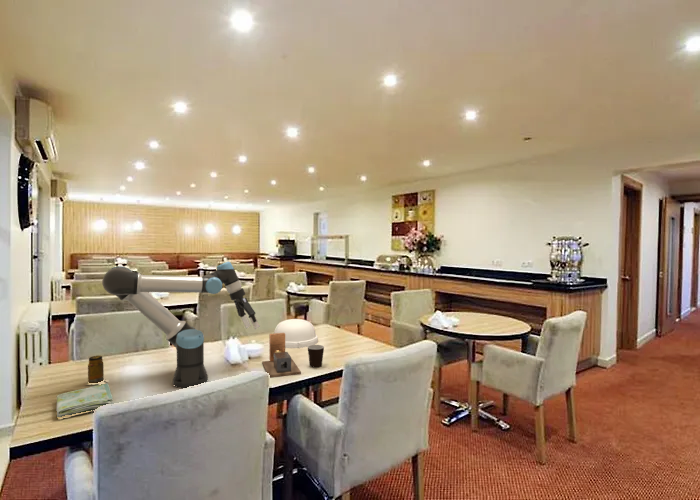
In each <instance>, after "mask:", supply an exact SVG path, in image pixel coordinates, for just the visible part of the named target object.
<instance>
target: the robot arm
mask: <svg viewBox="0 0 700 500" xmlns="http://www.w3.org/2000/svg"><path fill="white" fill-rule="evenodd" d="M232 264H233V263H232V262H230V261H225V262H224V263H221V264H219V265H217V266H216V270H214V271H212V272H209V273H208V274H206V275H203V276H196V275H195V276H192V275H191V276H190V275H189V276H188V275H187V276H185V275H155V274H141V273H140V272H138V271H137V272H136V271H132V270H131V269H130V268H128V267H125V266H121V265H120V266H114V267H112V268H110V269H109V270H107V271H106V273H105V274H104V276H103V277H102V287H103V289H104V290H105V292H106V293H108V294H110V295H113V296H116V297H117V298H118V299H119V300H120V301H122V302H123V301H124V302H125V301H127V302H128V303H129V304H130V305H132V306H133V307H134V308H135V309H136V310H138V311H139V312H140V313H141V314H142V315H143V316H144V317H146V318H147V319H148V320H149V321H150V322H151V323H152V324H153V325H154V326H156V327H157V328H158V329H159V330H160V331H162V332H163V333H164V334H165V336H166V337H165V338H166V340H167V341H168V342H169V343H170V344H171V345H172V346H174V347H175V349H176V368H175V371H174V374H173V379H172V386H173V385H175V386H177V387H176V388H178V387H181V388H180V389H186V388H185V387H189V386H194V385H198V384H201V383H204V382H206V383H207V382H208V381H207V380H209V377H208V376H209V375H208V372H207V369H206V367H205V364H204V363H205V361H204V355H205V354H204V348H205V347H204V342H205V336H204V333H203V332H202V331H201V330H199V329H196V328H195V327H193V326H191V325H190V324H189V323H188V322H187V321H186V320H179V319H178V318H177V317H176V316H175V315H174V314H173V313H172V312H171V311H170V310H168V309H167V308H166V307H165V306H164V305H163V304H162V303H161V302H160V301H158V299H156V298H155V297H154V296H153V295H152V294H151V293H197V294H198V293H201V294H204V293H205V294H211V295H215V294H218V293H220V292H221V291H222V289H223V285H224V286H225V289H226V292H227V293H228V294H229V297H230V299H231V301H233V302H234V305H235V308H236V311H237V315H238V317H240V318H241V321H242V322H243V325H244V327H245V329H248V328H250V327H252V326H253V328H254V330H257V329H258V328H260V324H259V322H258V320H257V317H256V311H255V310H254V308H253V307H252V306H251V303H250V302H249V300H248V299H247V297H244V296H246V292H245V289H244V288H242V287H243V286H242V281H240V279H239V277H238V274H237V272H236V270H235V268H234V266H233V265H232ZM247 315H248V317H247ZM248 318H249V319H250V321H249V319H248ZM251 324H252V325H251ZM175 386H174V387H175Z"/></svg>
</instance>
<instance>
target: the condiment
mask: <svg viewBox="0 0 700 500" xmlns="http://www.w3.org/2000/svg"><path fill="white" fill-rule="evenodd" d="M104 373H105V371H104V361H103V356H102V355H93V356H90V357H89V358H88V364H87V383H88V382H89V383H98V382H101V381H103V380H104V379H105V377H104Z"/></svg>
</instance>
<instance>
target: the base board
mask: <svg viewBox="0 0 700 500" xmlns="http://www.w3.org/2000/svg"><path fill="white" fill-rule="evenodd" d="M261 365H262V367H263V369H264V371H265V373H266V372H267V373H269V375H270V378H280V377H288V376H295V375H301V374H302V371H301V369H300V368H299V367H298V365H297V363H296V362H295V361H294V360H293V358H291V371H290V372H281V373H277V372H276V370H275V368H274V361H270V360H264V361H262V362H261ZM270 378H269V379H270Z"/></svg>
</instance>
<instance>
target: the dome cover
mask: <svg viewBox="0 0 700 500" xmlns="http://www.w3.org/2000/svg"><path fill="white" fill-rule="evenodd" d="M273 333H285V349H301V348H302V349H303V348H308V346H310V345H318V343H319V337H318V334H316V329H315V326H314V325H313V324H312V322H310V321H309V320H306V319H301V318H292V319H291V318H289V319H285V320H282V321H280V322H279V323H278V324H277V325H276V327H275V329H274V332H273Z"/></svg>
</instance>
